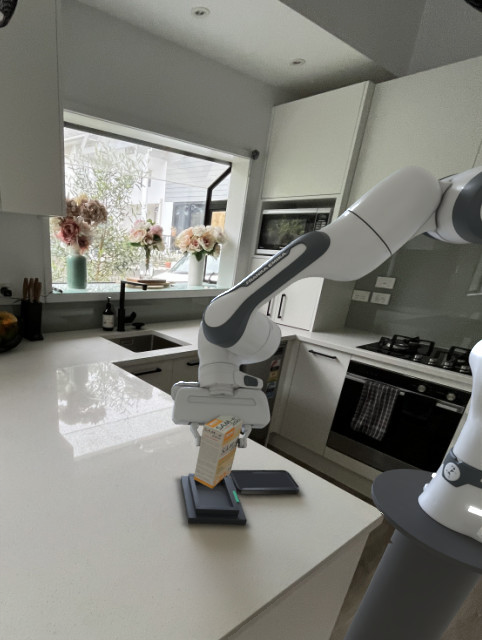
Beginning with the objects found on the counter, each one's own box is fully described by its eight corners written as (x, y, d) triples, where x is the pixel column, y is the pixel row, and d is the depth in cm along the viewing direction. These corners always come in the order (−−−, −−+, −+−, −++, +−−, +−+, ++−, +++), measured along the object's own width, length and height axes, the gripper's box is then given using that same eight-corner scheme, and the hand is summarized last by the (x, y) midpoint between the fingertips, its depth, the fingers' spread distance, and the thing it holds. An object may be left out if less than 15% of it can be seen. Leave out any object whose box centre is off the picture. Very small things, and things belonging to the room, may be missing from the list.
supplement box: (212, 490, 75) (224, 434, 69) (192, 479, 78) (202, 424, 72) (232, 472, 81) (244, 419, 75) (212, 463, 84) (223, 411, 78)
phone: (301, 490, 87) (238, 490, 86) (300, 493, 88) (237, 494, 86) (286, 469, 94) (228, 469, 93) (285, 473, 95) (228, 473, 93)
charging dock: (230, 482, 90) (232, 472, 89) (245, 525, 78) (248, 514, 76) (180, 480, 89) (181, 470, 88) (187, 523, 77) (189, 512, 76)
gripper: (173, 375, 78) (172, 441, 73) (270, 380, 79) (275, 445, 74) (169, 386, 84) (168, 447, 79) (259, 391, 85) (264, 451, 80)
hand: (221, 446), depth 77 cm, fingers closed on supplement box, 7 cm apart
